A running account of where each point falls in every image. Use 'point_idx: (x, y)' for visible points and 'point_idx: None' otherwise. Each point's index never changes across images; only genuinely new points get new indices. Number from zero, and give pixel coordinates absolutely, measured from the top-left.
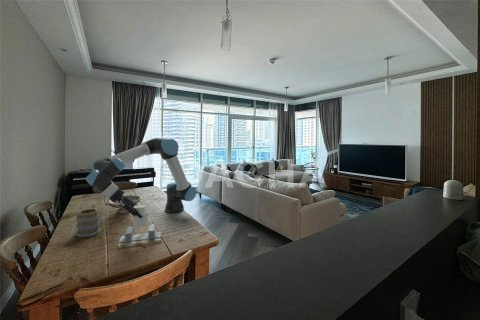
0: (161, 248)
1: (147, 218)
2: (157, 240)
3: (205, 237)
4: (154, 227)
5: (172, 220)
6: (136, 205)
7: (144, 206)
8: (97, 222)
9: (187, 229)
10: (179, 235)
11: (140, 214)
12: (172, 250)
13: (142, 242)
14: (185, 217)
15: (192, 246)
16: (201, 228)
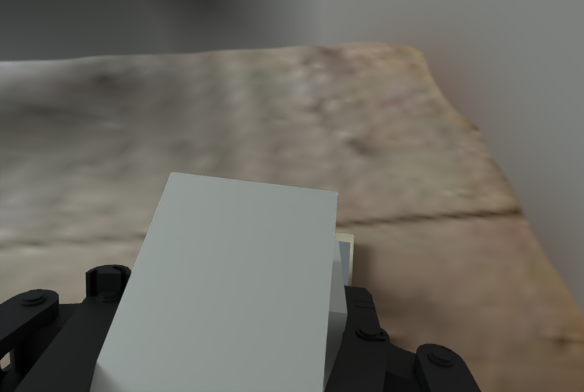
0: (436, 249)
1: (338, 243)
2: (352, 254)
3: (372, 62)
4: None
5: (43, 135)
6: (112, 336)
7: (284, 190)
8: None
9: (239, 98)
10: (299, 143)
11: (346, 305)
12: (474, 202)
13: None
14: (56, 73)
15: (450, 120)
16: (262, 51)
